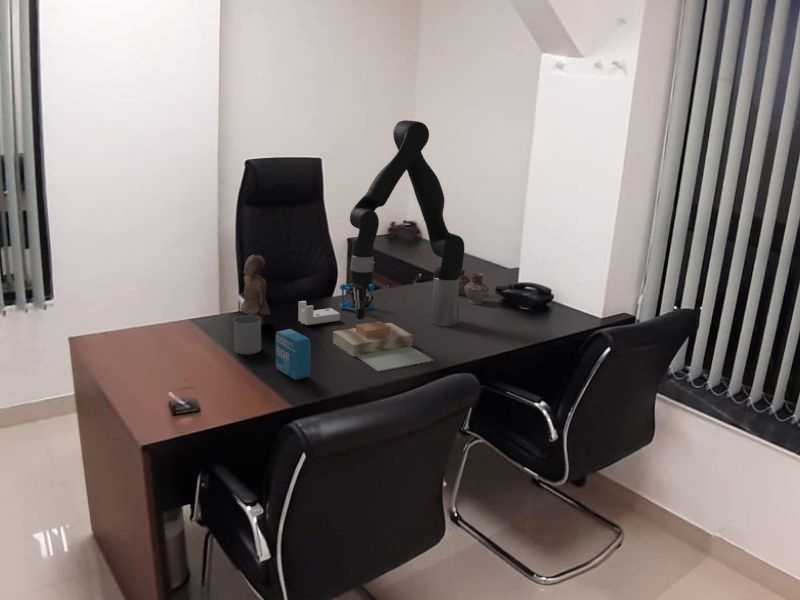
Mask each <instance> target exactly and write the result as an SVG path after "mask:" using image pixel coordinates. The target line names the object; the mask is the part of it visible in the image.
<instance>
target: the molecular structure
mask: <svg viewBox="0 0 800 600" xmlns="http://www.w3.org/2000/svg"><path fill="white" fill-rule="evenodd" d="M351 286H353V283H351V282H350V283H349V284H344V283H341V284H340V285H339V289H340V290H341V303H340V304H339V309H340V310H345V309H348V310H351V311H355V313H356V310H357V308H356V307H355V308H353V307H350V306H351V305H354V306H355V304H353V301H352V298H351V299H350V300H348V301H347V302H345V303H344V300H345V299H344V298H345V296H344V295H345V291H346V292H347V293H349V294H350V291H349V288H350V287H351ZM369 289H370V292H369V294H370V296H373V290H374V289H375V285H374V284H373V283H371V284H370V285H369ZM374 307H375V306H374V304H373V301H372V302H371V304H370V305H369V307H368V308H365V309H364V310H367V309H369V310H372V309H374Z"/></svg>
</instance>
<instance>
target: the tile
mask: <svg viewBox="0 0 800 600" xmlns="http://www.w3.org/2000/svg"><path fill="white" fill-rule="evenodd" d="M355 328H356V332H357V333H358V334H360V335H361V336H363V337H365V338H372V337H378V336H385V335H390V328H391V327H389V326H387V325H386V324H385V323H383V322H382V321H380V320H378V321H372V322H365V323H357V324H355Z"/></svg>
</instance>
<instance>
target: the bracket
mask: <svg viewBox="0 0 800 600" xmlns="http://www.w3.org/2000/svg"><path fill="white" fill-rule="evenodd" d="M297 307H298V316H297V317H298V320H297V321H298V322H299V321H300V322H301V323H300V322H299V323H300V324H302V325H306V326H310V325H317V324H324V323H330V322H337V321H341V313H340V312H338V311H337V310H335V309H333V308H332V307H329V308H323V309H322V308H321V309H316V310H314V305H308V303H307V301H306V300H301V301H298V306H297Z"/></svg>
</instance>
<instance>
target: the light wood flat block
mask: <svg viewBox="0 0 800 600" xmlns="http://www.w3.org/2000/svg"><path fill="white" fill-rule="evenodd" d="M384 324H386V325H387V326H389V327H391V328H390V335H385V336H378V337H372V338H365V337H363V336H361V335H360V334H358V333H357V332H356V327H355V328H354V327H353V328H347V329H340V330H333V332H332V343H333V345H335V344H336V346H337V347H338V346H339V347H338V348H340V349H341V350H342V349H343V350H342V351H343V352H345V351H346V352H345V353H347V355H350V356H351V357H352V356H353V357H355V356H356V357H357V356H358V355H364V354H370V353H375V352H381V351H387V350H392V349H398V348H404V347H409V346H412V347H413V339H414V338H413V336H414V334H411V332H408V331H407V330H404V329H403V328H401V327H400V326H397V325H396V324H394V323H392V322H385V323H384Z"/></svg>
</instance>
